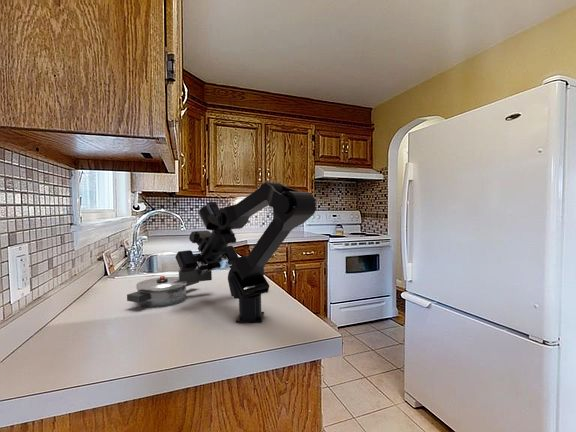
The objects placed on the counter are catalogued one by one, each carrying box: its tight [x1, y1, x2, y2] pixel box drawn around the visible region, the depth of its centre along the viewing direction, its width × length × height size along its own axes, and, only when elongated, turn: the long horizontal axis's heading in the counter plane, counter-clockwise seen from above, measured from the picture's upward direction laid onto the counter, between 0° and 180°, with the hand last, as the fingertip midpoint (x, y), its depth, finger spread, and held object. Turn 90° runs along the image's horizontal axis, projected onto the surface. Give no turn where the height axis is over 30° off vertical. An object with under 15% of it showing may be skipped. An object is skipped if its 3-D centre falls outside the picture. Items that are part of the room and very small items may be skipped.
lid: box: [135, 267, 213, 291], centre depth 97 cm, size 22×15×4 cm, turn 115°
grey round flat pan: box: [126, 281, 200, 309], centre depth 97 cm, size 25×14×4 cm, turn 155°
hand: (199, 274), depth 96 cm, fingers closed
